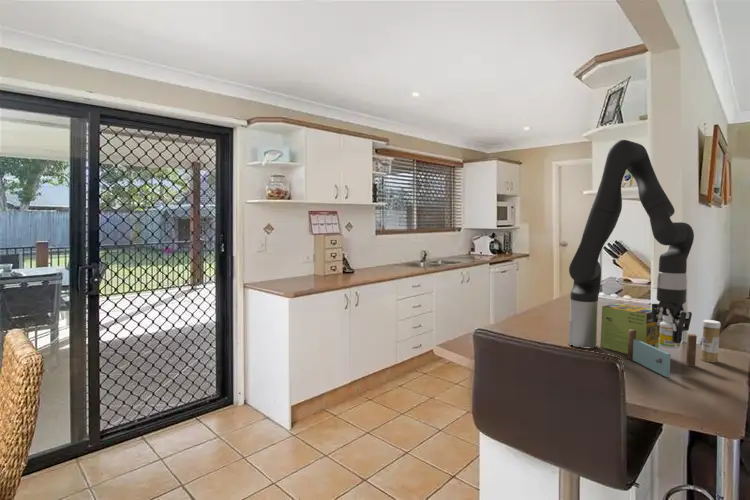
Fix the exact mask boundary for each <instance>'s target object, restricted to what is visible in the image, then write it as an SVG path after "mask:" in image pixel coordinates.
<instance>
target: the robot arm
mask: <svg viewBox="0 0 750 500" xmlns="http://www.w3.org/2000/svg"><path fill="white" fill-rule="evenodd" d="M603 167H604V168H603V172H602V176H601V179H600V182H599V185H598V189H597V192H596V194H595V199H594V201H593V203H592V206H591V209H590V211H589V214H588V218H587V220H586V223H585V226H584V230H583V233H582V237H581V240H580V243H579V244H578V248H577V250H576V251H575V253H574V256H573V257H572V260H571V261H570V263H569V266H568V267H569V268H568V272H569V275H570V277H571V279H572V280H573V285H572V289H571V290H570V300H569V301H570V305H569V306H570V307H569V319H568V320H569V321H568V322H569V325H568V327H569V328H568V346H571V345H573V346H572V347H575V348H579V347H581V348H580V349H585V348H584V347H590V348H589V349H595V348H597V343H598V342H597V338H598V313H599V312H598V311H599V310H598V309H599V294H600V293H601V281H602V280H601V278H602V267H601V264H600V262H599V259H600V254H601V252H602V250H603V247H604V246H605V244H606V243H607V241H608V239H609V238H610V236H611V235H612V233H613V232H614V229H615V227H616V225H617V223H618V220H619V217H620V216H621V213H622V209H623V198H622V197H623V196H622V183H623V180H624V177H625V174H626V172H627V171H628V172H629V174H630V175H631V176H632V177H633V179H634V180H635V182H636V185H637V190H638V196H639V201H640V202H641V203H640V204H641V205H642V207H643V209H644V211H645V212H646V214H647V216H648V218H649V222H650V228H651V232H652V235H653V237H654V239H655V240H656V241H657V242H658V243H659V244H660V245H663V246H668V250H667V251H666V252H664V253H661V254H660V256H659V258H658V274H657V277H656V278H657V279H656V280H657V281H656V282H657V283H656V284H657V285H656V300H657V302H659V303H651V309H652V315H653V322H656V323H657V325H658V336H659V332H660V322H662V321H664V320H663V315H666V316H668V317H669V320H670V323H671V324H672V326H673V330H674V331H673V343H680V344H681V343H682V341H683V332H686V331H689V329H690V325H691V320H692V315H693V313H692V312H691V311H686V310H685V309H684V304H685V303H687V290H688V289H687V286H688V279H687V278H688V277H687V270H688V269H687V267H688V265H687V264H688V263H687V261H688V258H689V255H690V252H691V251H692V250H691V249H692V247H693V243H694V239H695V232H694V229H693V228H692V226H691V225H690V224H688V223H687V222H680V221H679V222H676V221H675V222H673V221H672V220H671V217H672V216H673V215H674V214H675V206H673V204H672V201H671V200H670V199H669V197H668V195H667V194H666V192H665V191H664V189H663V187H662V186H661V184H660V182H659V179H658V177H657V176H656V172H655V170H654V168H653V164H652V162H651V159H650V156H649V154H648V150H647V148H645V146H643V144H640V143H639V142H635V141H631V140H627V139H620V140H617V141H616V142H615V143H614V144H612V145H611V147H610V148H609V150H608V153H607V156H606V160H605V165H604V166H603ZM656 315H658V318H657V316H656ZM677 319H678V321H675V320H677ZM676 324H678V327H677V325H676ZM594 347H595V348H594Z"/></svg>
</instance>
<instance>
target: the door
mask: <svg viewBox="0 0 750 500" xmlns="http://www.w3.org/2000/svg"><path fill="white" fill-rule="evenodd" d="M671 356H672V355H671V353H670V352H667V351H664V350H663V349H660V348H659V349H658V348H656V347H653V346H651V345H649V344H647V343H644V342H642V341H640V340H637V339H633V360H632V361H634V362H636V363H637V364H640V365H641V366H643V367H645V368H647V369H649V370H651V371H654V372H655V373H657V374H659V375H661V376H663V377H664V378H670V374H671V372H670V371H671Z"/></svg>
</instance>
